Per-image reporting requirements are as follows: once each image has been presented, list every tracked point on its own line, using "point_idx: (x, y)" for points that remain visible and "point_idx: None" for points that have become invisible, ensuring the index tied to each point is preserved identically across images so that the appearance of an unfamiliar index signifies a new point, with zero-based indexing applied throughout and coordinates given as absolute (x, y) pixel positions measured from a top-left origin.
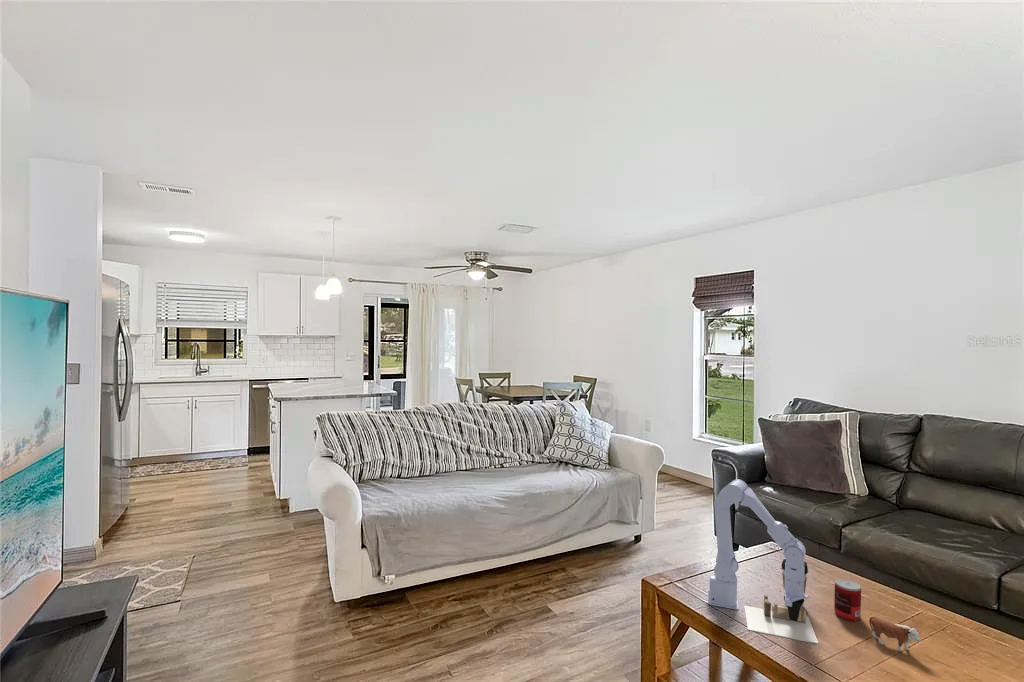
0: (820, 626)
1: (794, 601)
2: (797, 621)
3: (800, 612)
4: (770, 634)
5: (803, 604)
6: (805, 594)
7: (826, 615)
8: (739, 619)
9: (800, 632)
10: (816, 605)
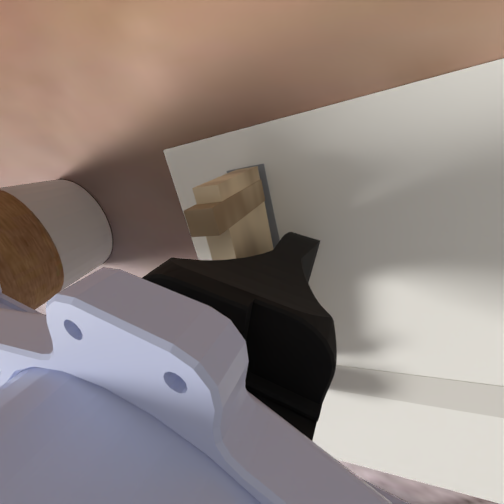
0: (231, 49)
1: (312, 426)
2: (269, 220)
3: (235, 228)
4: None
5: (56, 180)
6: (61, 352)
7: (56, 31)
8: (414, 496)
9: (454, 207)
10: (7, 109)
